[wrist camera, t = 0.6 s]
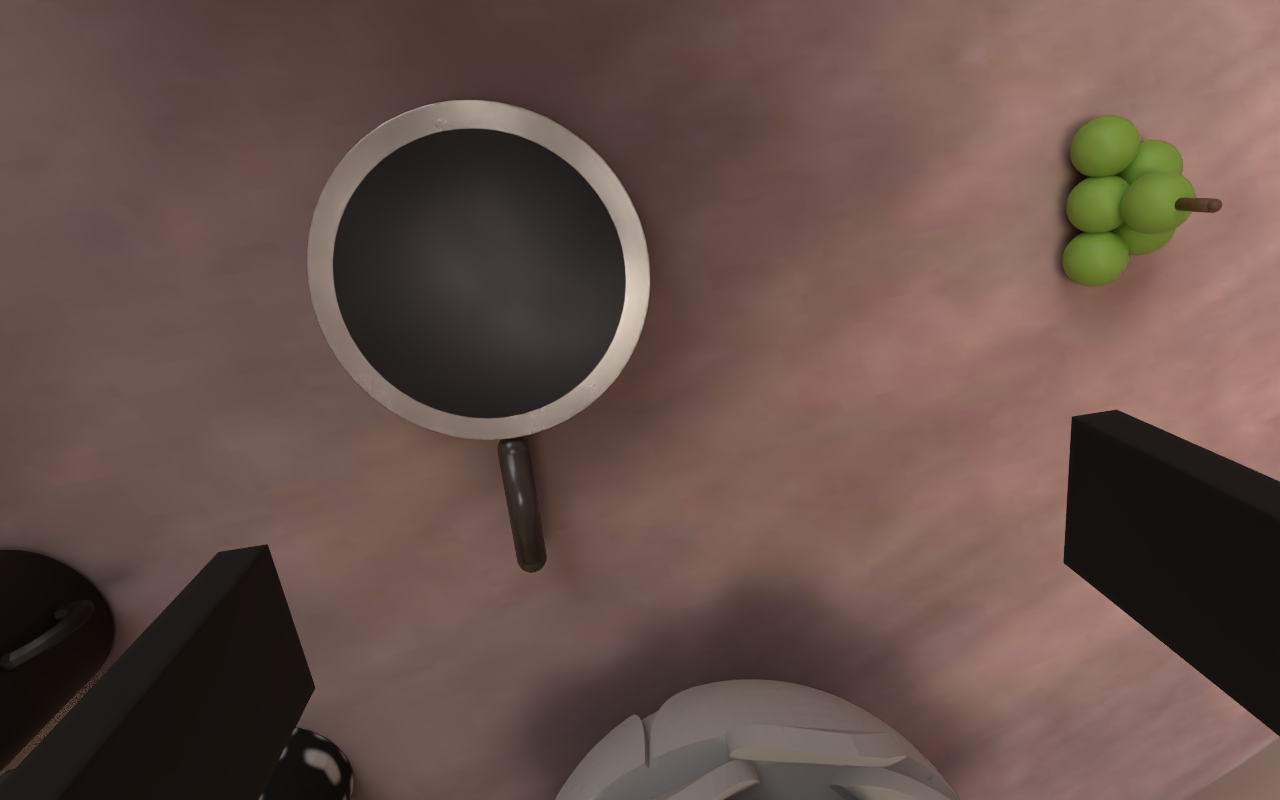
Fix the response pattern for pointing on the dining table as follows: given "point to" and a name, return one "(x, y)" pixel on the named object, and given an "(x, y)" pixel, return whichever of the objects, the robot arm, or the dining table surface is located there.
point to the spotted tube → (310, 771)
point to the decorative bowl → (755, 751)
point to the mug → (44, 643)
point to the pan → (480, 279)
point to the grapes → (1124, 199)
